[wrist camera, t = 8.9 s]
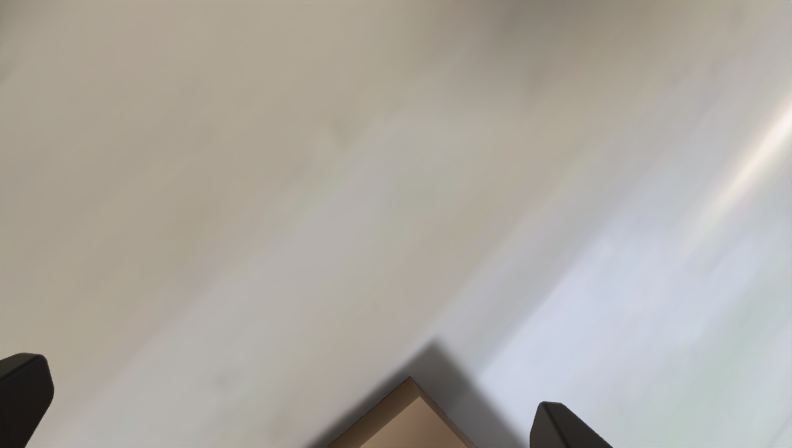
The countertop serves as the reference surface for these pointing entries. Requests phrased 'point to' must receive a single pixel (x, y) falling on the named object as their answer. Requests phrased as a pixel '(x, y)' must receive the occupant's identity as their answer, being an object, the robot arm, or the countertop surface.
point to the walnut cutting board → (404, 424)
